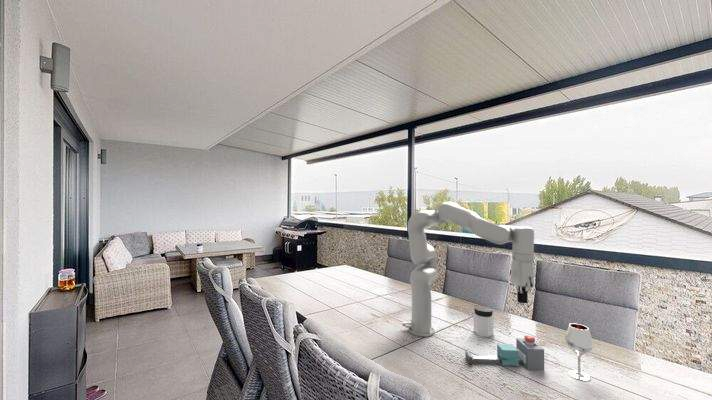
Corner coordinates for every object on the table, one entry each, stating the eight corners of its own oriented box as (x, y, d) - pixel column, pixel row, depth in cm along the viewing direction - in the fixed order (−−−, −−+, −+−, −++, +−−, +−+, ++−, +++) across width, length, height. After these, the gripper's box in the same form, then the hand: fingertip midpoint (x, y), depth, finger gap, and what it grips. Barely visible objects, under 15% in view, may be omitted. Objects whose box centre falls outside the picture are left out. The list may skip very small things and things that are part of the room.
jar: (485, 338, 137) (485, 313, 137) (470, 332, 144) (470, 308, 144) (496, 334, 142) (496, 309, 142) (481, 328, 149) (481, 304, 149)
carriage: (502, 365, 114) (502, 350, 114) (497, 358, 119) (497, 343, 119) (518, 365, 113) (518, 350, 113) (512, 358, 118) (512, 344, 118)
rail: (469, 365, 114) (469, 356, 114) (465, 358, 119) (465, 350, 119) (525, 367, 113) (525, 358, 113) (518, 360, 118) (518, 352, 118)
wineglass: (560, 369, 111) (559, 322, 112) (580, 369, 112) (579, 321, 112) (578, 383, 103) (577, 331, 103) (599, 381, 104) (599, 331, 104)
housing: (527, 370, 111) (527, 348, 111) (515, 357, 120) (515, 338, 120) (544, 370, 111) (544, 349, 111) (531, 358, 120) (531, 338, 120)
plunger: (527, 352, 114) (527, 339, 114) (522, 347, 117) (522, 335, 118) (537, 352, 114) (536, 339, 114) (531, 348, 117) (531, 335, 117)
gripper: (505, 253, 126) (504, 296, 126) (522, 260, 111) (521, 308, 111) (523, 254, 126) (522, 296, 126) (543, 261, 111) (542, 309, 111)
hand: (522, 302), depth 118 cm, fingers closed
